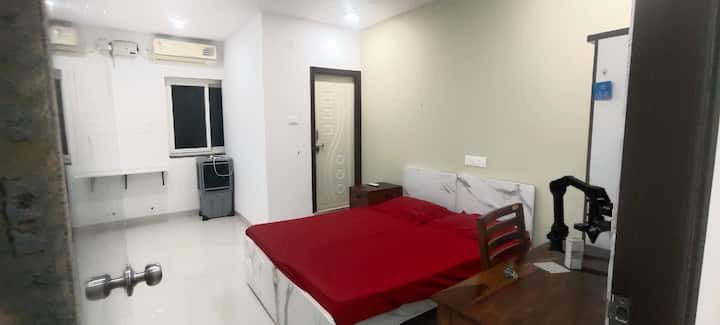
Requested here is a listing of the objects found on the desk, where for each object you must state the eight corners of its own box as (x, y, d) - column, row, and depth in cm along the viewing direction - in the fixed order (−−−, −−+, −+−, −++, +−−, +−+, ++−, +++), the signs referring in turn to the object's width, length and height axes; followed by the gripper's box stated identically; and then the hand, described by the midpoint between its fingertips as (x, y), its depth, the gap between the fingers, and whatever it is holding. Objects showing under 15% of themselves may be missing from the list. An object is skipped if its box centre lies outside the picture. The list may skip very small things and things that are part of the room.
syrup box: (576, 265, 176) (578, 236, 174) (582, 269, 170) (584, 240, 169) (564, 264, 177) (565, 236, 175) (569, 269, 171) (571, 240, 169)
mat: (533, 264, 177) (533, 263, 177) (553, 262, 179) (553, 261, 179) (550, 274, 166) (550, 273, 165) (571, 272, 168) (571, 271, 167)
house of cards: (490, 275, 164) (491, 259, 164) (506, 273, 167) (507, 257, 166) (504, 284, 156) (505, 267, 155) (520, 281, 159) (521, 264, 158)
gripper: (592, 217, 163) (590, 250, 164) (626, 215, 166) (623, 247, 168) (573, 212, 174) (571, 242, 175) (605, 210, 177) (603, 240, 179)
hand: (592, 243), depth 174 cm, fingers closed
